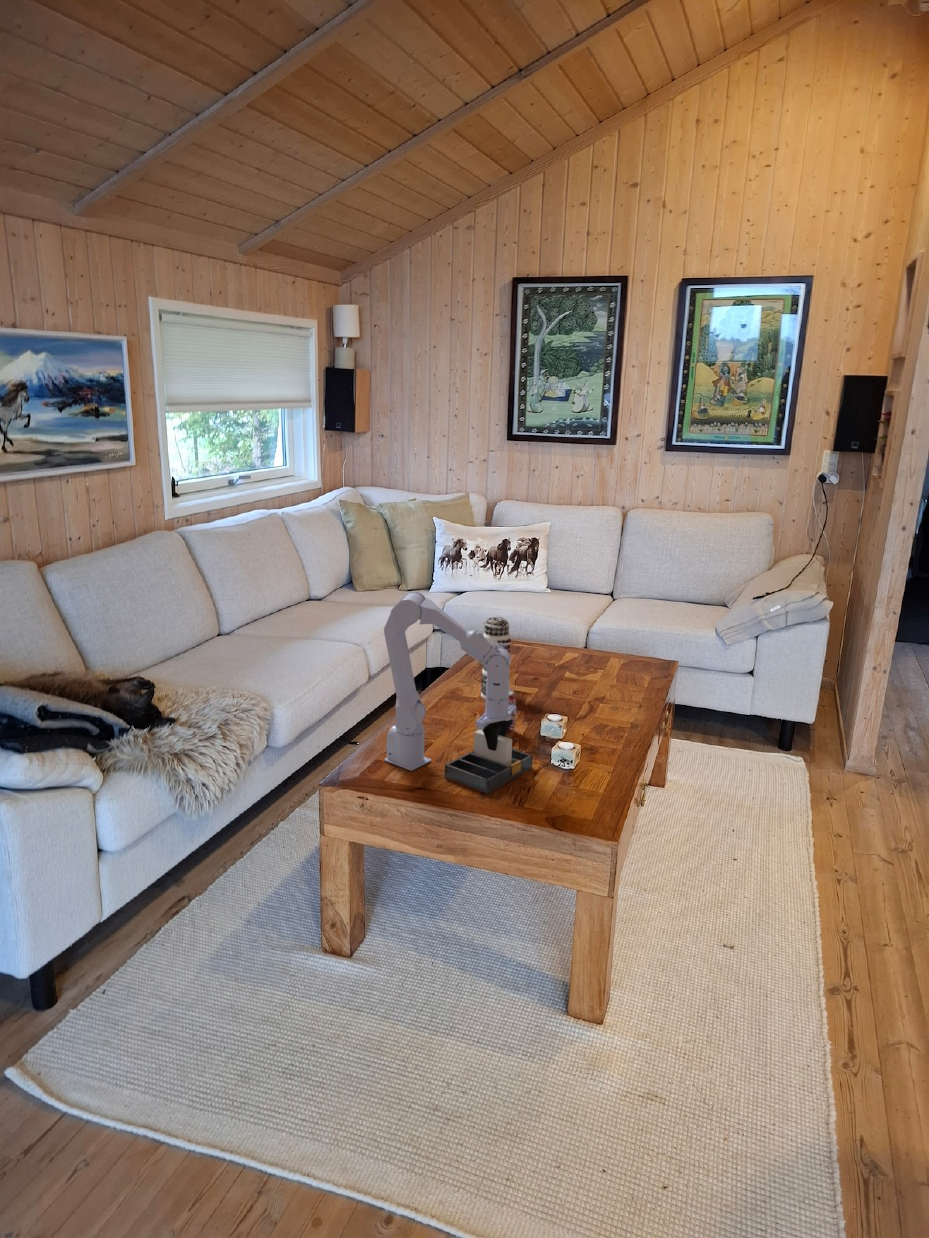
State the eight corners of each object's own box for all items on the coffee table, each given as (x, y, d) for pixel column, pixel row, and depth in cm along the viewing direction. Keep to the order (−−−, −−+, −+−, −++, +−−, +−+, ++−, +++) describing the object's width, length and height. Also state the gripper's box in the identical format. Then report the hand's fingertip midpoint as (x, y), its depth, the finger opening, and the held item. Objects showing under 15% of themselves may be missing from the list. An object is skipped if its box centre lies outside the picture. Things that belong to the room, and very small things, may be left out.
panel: (474, 757, 218) (474, 731, 216) (479, 754, 220) (480, 729, 218) (505, 768, 212) (506, 742, 210) (511, 765, 214) (512, 739, 212)
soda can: (513, 727, 243) (515, 687, 240) (515, 737, 237) (517, 696, 233) (488, 726, 243) (490, 687, 240) (490, 736, 236) (491, 696, 233)
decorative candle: (509, 691, 272) (512, 615, 265) (508, 701, 263) (511, 623, 256) (481, 689, 273) (483, 614, 266) (478, 699, 264) (481, 622, 257)
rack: (444, 777, 211) (444, 763, 210) (490, 753, 225) (491, 740, 224) (487, 794, 203) (488, 779, 202) (532, 768, 217) (533, 754, 216)
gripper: (492, 708, 203) (490, 761, 207) (527, 693, 214) (524, 743, 218) (469, 701, 207) (468, 753, 211) (504, 686, 218) (502, 735, 222)
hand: (495, 747), depth 214 cm, fingers closed on panel, 2 cm apart
